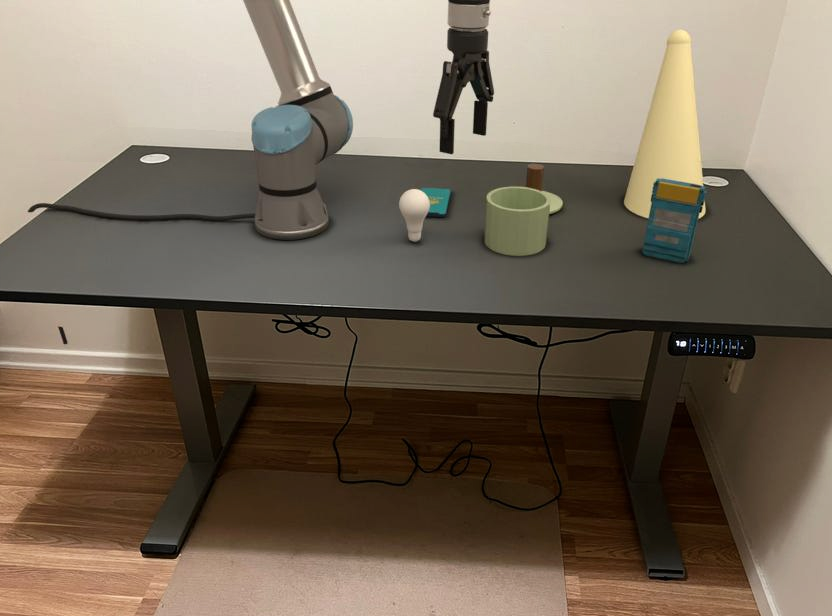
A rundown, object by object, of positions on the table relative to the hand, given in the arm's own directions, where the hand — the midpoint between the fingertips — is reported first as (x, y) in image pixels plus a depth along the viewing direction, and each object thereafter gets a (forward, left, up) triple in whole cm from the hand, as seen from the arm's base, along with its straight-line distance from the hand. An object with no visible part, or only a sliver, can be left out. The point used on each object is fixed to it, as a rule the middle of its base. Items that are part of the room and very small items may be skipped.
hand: (463, 143), depth 144 cm
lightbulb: (-8, -10, -18) cm, 22 cm away
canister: (+12, -5, -18) cm, 22 cm away
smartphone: (-9, +10, -18) cm, 23 cm away
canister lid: (+13, +15, -17) cm, 27 cm away
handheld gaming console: (+42, -4, -18) cm, 46 cm away
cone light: (+42, +26, -18) cm, 53 cm away
